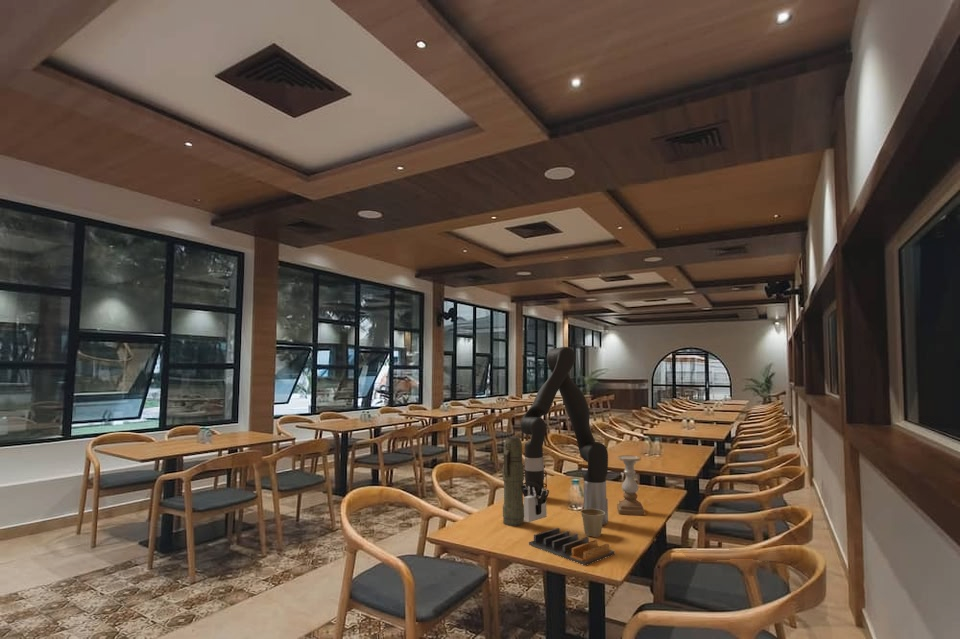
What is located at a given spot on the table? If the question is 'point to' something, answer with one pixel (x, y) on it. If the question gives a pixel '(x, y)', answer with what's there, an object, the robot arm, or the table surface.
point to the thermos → (513, 482)
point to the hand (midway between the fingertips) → (535, 513)
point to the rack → (571, 546)
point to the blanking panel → (533, 509)
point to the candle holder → (630, 489)
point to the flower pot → (592, 521)
